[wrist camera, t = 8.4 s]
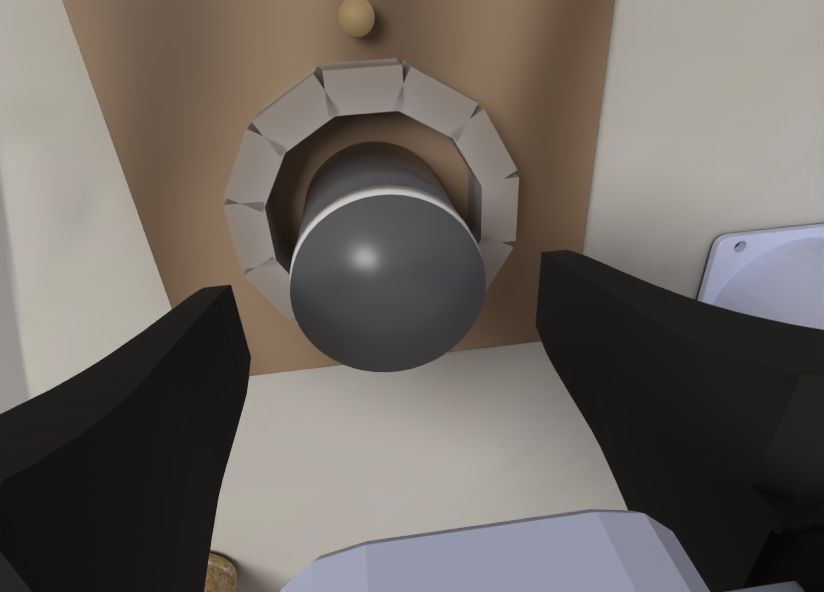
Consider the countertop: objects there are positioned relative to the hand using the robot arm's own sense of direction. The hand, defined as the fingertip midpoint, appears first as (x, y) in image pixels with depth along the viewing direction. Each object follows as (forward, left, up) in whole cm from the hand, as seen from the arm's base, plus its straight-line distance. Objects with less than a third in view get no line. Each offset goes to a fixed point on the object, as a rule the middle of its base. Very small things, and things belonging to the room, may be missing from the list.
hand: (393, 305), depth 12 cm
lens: (0, 0, -7) cm, 7 cm away
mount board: (0, 0, -8) cm, 8 cm away
